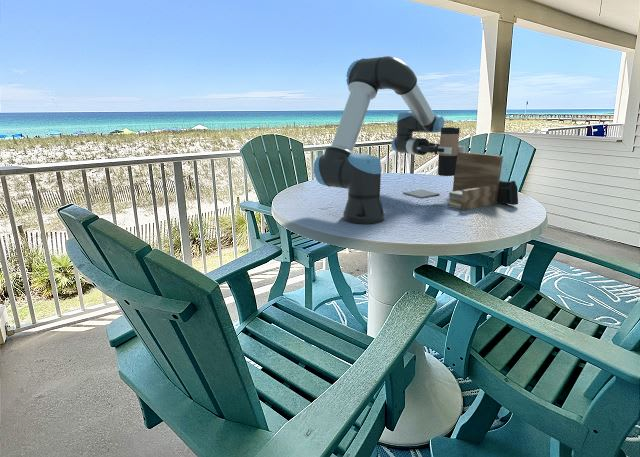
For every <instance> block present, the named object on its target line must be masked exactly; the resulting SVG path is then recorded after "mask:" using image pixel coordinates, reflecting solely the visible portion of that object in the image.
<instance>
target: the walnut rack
mask: <svg viewBox="0 0 640 457" xmlns="http://www.w3.org/2000/svg"><path fill="white" fill-rule="evenodd" d="M503 157H504V156H503V155H498V154H497V155H495V154H485V153H475V152H465V153H459V152H458V154H457V162H456V170H455V175H454V176H453V183H452V184H453V185H452V192H454V191H459V190H463V189H466V190H463V191H462V200H461V209H460V210H461V211H468V210H469V211H470V210H473V209H477V208H483V207H486V206H487V207H488V206H491V205H492V206H493V205H495V204H496V205H497V203H498V202H497V196H498V189H499V182H500V181H501V174H502V173H501V172H502V165H503ZM468 188H472V189H468Z"/></svg>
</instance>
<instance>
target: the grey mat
mask: <svg viewBox="0 0 640 457" xmlns="http://www.w3.org/2000/svg"><path fill="white" fill-rule="evenodd" d="M402 194H403V195H406V196H411V197H415V198H419V199H424V198H430V197H436V196H440V195H441V193H437V192H433V191H429V190H424V189H415V190H411V191H410V190H409V191H403V192H402Z"/></svg>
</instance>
